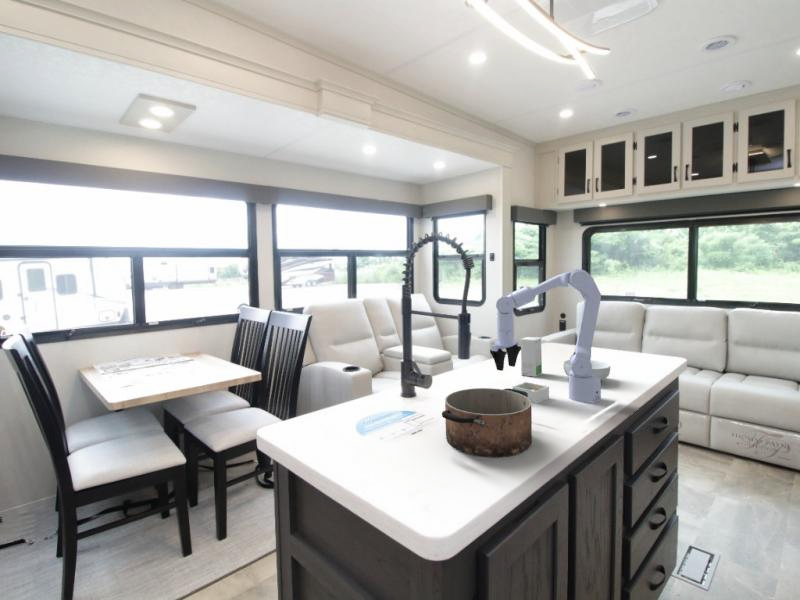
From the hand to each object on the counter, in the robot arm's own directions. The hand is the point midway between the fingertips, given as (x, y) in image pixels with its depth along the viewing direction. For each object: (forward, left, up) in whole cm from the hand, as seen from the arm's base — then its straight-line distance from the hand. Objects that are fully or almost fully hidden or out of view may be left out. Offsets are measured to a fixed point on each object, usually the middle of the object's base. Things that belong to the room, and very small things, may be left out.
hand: (506, 368), depth 146 cm
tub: (-9, -1, -10) cm, 13 cm away
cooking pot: (-18, +36, -10) cm, 41 cm away
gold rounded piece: (-11, -2, -9) cm, 14 cm away
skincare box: (+9, -32, -10) cm, 34 cm away
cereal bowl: (-12, -37, -10) cm, 40 cm away
